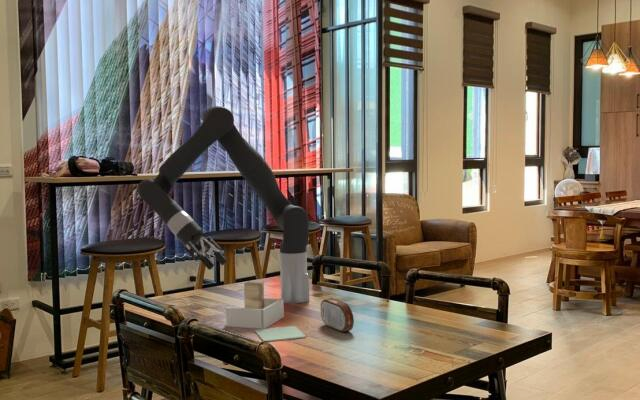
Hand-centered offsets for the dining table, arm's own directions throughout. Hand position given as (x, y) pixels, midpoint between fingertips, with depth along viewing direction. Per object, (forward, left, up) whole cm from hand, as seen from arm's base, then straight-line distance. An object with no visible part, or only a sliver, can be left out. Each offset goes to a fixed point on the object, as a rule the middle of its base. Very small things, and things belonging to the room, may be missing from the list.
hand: (218, 265), depth 209 cm
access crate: (-9, +7, -17) cm, 21 cm away
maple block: (-10, +7, -15) cm, 19 cm away
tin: (-30, +25, -17) cm, 43 cm away
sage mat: (-13, +25, -17) cm, 33 cm away
